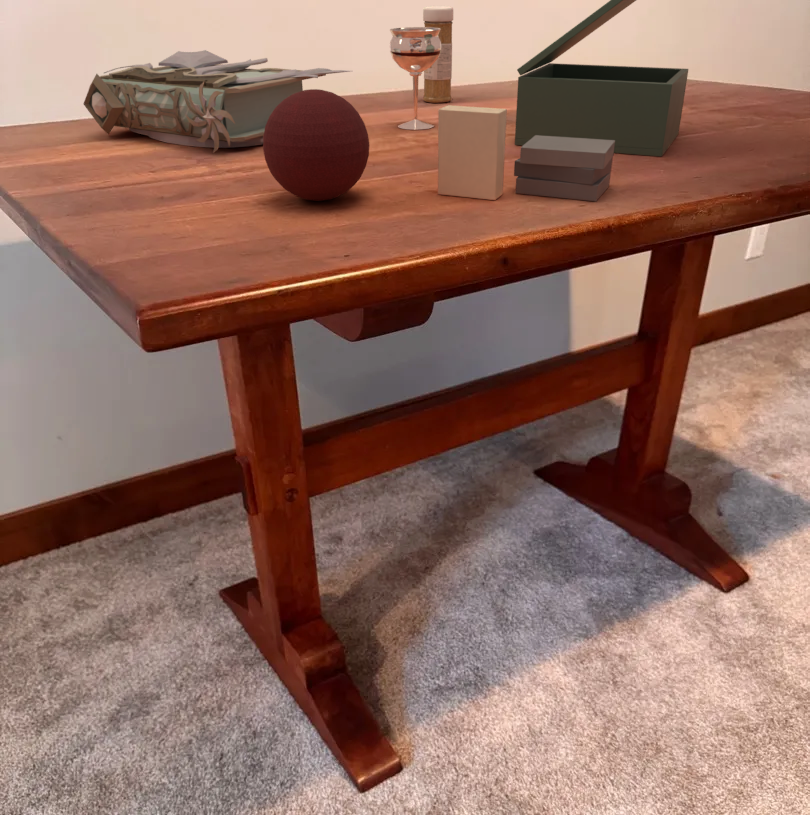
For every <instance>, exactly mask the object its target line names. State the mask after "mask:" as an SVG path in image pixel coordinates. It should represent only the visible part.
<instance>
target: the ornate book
mask: <svg viewBox="0 0 810 815" xmlns="http://www.w3.org/2000/svg"><path fill="white" fill-rule="evenodd" d="M268 62H269V61H268V57H264V58H259V59H253V60H251V58H250V59H247V60H246V61H240V62H232V63H229V61H228V59H226V58H224V57H221V56H219V55H218V54H215V53H213V52H210V51H208V50H207V49H204V50H199V51H180V50H178V51H176V52H175V53H173V54H171V55H169V56H168V57H166V58H164V59H163V60H161V61H159V62H158V67H154V66H153V64H152V63H151V62H148V63H144V64H132V65H126V66H121V67H115V68H112V69H110V70H107V71H105V72H103V75H99V73H96V74H95V75H94V77H93V79H92V81H91V83H90V85H89V87H88V91H87V93H86V96H85V98H84V101H83V106H84V107H85V108H86V110H87V111H88V113H89V114H90V115H91V116H92V118H93V119H94V120H95V122H96V123H97V124H98V125H99V127H100V128H101V129H102V130H103V131H104V132H105V133H106V134H107V135H109V134H111V132H112V130H113V129H114V127H116V128H117V127H119V128H125V129H129V130H130V131H131V132H132V133H136V134H139V135H140V134H141V135H144V136H147V137H149V138H151V139H153V140H156V141H160V142H163V143H166V144H167V143H168V144H173V145H179V146H186V147H198V148H199V147H200V148H213V151H212V154H214V153H216V152H217V151H218V149H219V148H224V149H225V148H227V149H228V148H229V149H230V148H243V147H253V146H261V145H262V146H263V136H264V131H265V126H266V123H267V121H268V119H269V116H270V115H271V113H272V112H273V110H274V109H275V108H276V107H277V106H278V105H279V104H280V103H281V102H282V101H283V100H284V99H285V98H287V97H289V96H290V95H292V94H294V93H297V92H300V91H303V90H304V87H303V81H305V80H311V79H318V78H320V77H323V76H324V77H325V76H327V75H330V74H340V73H351V72H352V70H342V69H335V70H333V69H330V68H325V67H321V68H320V67H317V68H311V69H310V68H309V69H304V70H303V69H290V68H280V67H279V68H278V67H263V68H249V67H251V66H258V65H262V64H266V63H268ZM124 68H125V69H124ZM119 69H120V70H119ZM116 70H117V71H116ZM113 71H114V72H113ZM107 73H108V74H107Z"/></svg>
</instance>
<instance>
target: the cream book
mask: <svg viewBox="0 0 810 815" xmlns="http://www.w3.org/2000/svg"><path fill="white" fill-rule="evenodd" d="M437 114H438V115H437V117H438V118H437V120H438V121H437V127H438V129H437V195H442V196H452V197H461V198H468V199H469V198H471V199H479V200H489V201H490V200H491V201H496V200H497V199H499V198H500V197H501V196H503V194H504V179H505V178H504V176H505V157H506V156H505V155H506V137H507V136H506V135H507V118H508V117H507V115H508V109H507V108H502V107H501V108H499V107H482V106H468V105H467V106H466V105H451V104H448V105H445V106H443V107H440V108H438V109H437Z"/></svg>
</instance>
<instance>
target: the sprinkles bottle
mask: <svg viewBox="0 0 810 815" xmlns="http://www.w3.org/2000/svg"><path fill="white" fill-rule="evenodd" d="M422 15H423V16H422V20H423V24H424V27H432V28H440V29H441V30H440V32H439V34H438V37H439V39H440V41H441V52H440V55H439V58H438V59H437V60H436V61H435V63H434V64H433V65H432V66H431V67H430V68H428V69H426V70H425V71H423V88H424V89H423V97H422V100H423V101H424V102H426V103H432V104H438V103H449V102H450V101H452V95H451V94H452V93H451V92H452V76H453V75H452V74H453V73H452V72H453V21H454V7H452V6H449V5H433V6H432V5H430V6H425V7H423V10H422Z"/></svg>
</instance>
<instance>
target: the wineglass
mask: <svg viewBox="0 0 810 815" xmlns="http://www.w3.org/2000/svg"><path fill="white" fill-rule="evenodd" d="M440 30H441V29H440V28H432V27H425V26H413V27H412V26H409V27H408V26H405V27H395V28H390V29H389V32H390V34H391V40H390V42H389V52H390V55H391V56H390V57H391V58H392V60H393V61H394V62H395V64H396V65H397V66H398V67H399V68H400V69H403V70H404V71H406V72H408V73H409V76H410V77H412V91H413V93H412V94H413V115H414V119H412V120H409V121H406V122H403V123H401V124H398V125H397V127H398V128H399V129H403V130H414V131H415V130H429V129H431V128H433V127H435V125H434V124H432V123H430V122H427V121H423V120H420V119H418V111H419V110H418V106H419V81H420V80H419V77H421V76H422V74H423V73H424V71H425V70H426V69H428V68H430V67H431V66H432V65H433V64H434V63H435V61H436V60H437V59H438V58H439V55H440V52H441V41H440V39H439V37H438V34H439V32H440Z"/></svg>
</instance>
